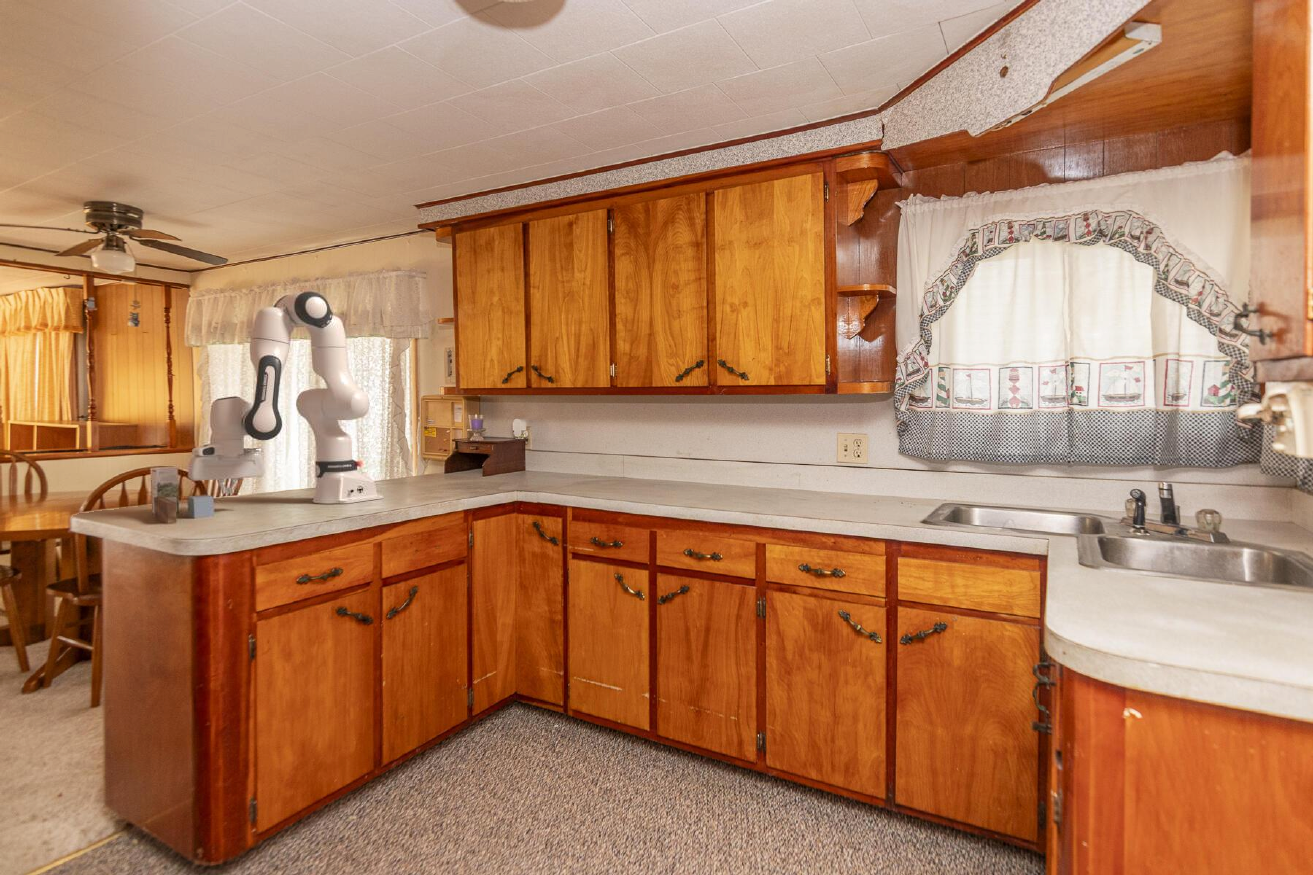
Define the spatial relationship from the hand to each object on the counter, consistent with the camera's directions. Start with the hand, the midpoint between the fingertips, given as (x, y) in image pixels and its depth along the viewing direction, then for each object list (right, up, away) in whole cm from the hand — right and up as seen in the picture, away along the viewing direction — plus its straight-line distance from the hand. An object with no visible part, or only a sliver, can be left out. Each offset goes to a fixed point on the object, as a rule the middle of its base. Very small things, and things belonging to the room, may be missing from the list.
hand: (227, 493), depth 212 cm
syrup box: (-19, -6, 0) cm, 21 cm away
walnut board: (-11, -7, -11) cm, 17 cm away
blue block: (-5, -7, -5) cm, 10 cm away
